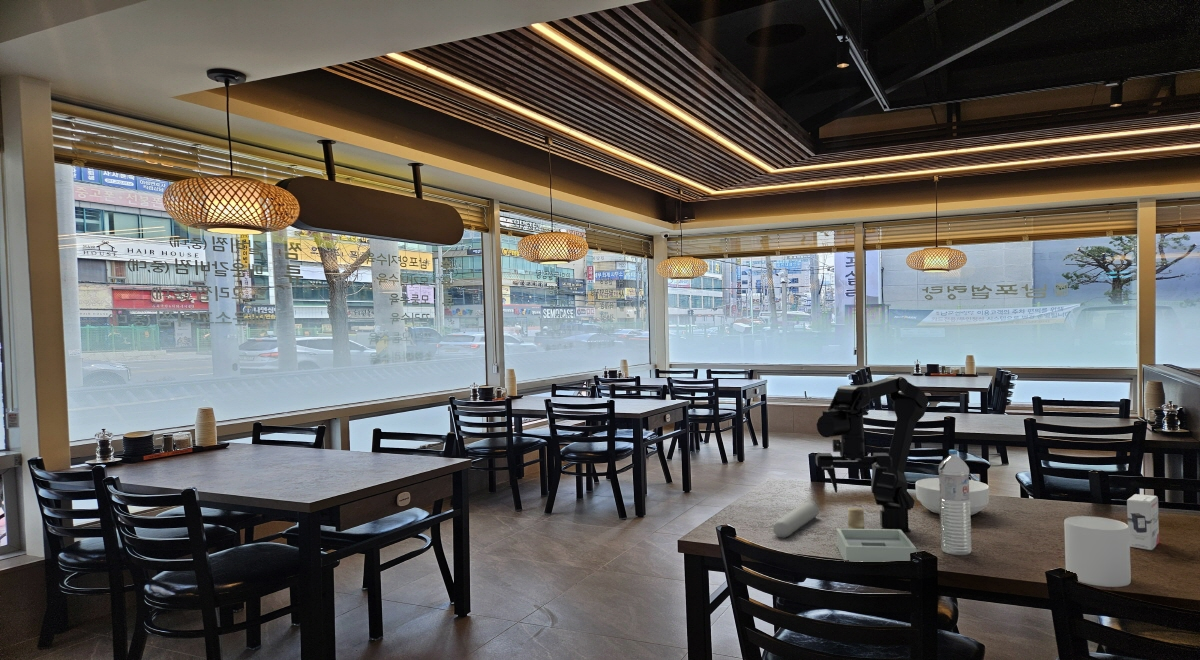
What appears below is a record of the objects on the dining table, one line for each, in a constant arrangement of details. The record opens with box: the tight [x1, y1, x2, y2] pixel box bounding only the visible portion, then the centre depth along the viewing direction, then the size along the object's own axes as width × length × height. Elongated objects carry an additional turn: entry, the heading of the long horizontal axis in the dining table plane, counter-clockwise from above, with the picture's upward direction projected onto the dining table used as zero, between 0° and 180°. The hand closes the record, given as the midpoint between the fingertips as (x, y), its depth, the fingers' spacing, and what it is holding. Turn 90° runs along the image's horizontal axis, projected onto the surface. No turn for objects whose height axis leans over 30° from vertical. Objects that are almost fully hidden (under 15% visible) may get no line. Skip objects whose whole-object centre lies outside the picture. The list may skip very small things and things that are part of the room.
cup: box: [1063, 515, 1132, 588], centre depth 160 cm, size 12×12×12 cm
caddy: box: [836, 528, 917, 562], centre depth 179 cm, size 16×16×4 cm
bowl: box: [915, 477, 990, 516], centre depth 217 cm, size 20×20×8 cm
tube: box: [772, 500, 820, 539], centre depth 207 cm, size 5×5×25 cm
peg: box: [847, 507, 865, 529], centre depth 193 cm, size 4×4×8 cm
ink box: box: [1126, 493, 1160, 551], centre depth 182 cm, size 8×5×12 cm, turn 133°
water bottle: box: [937, 449, 972, 556], centre depth 181 cm, size 7×7×25 cm
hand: (854, 492), depth 194 cm, fingers open, 9 cm apart
